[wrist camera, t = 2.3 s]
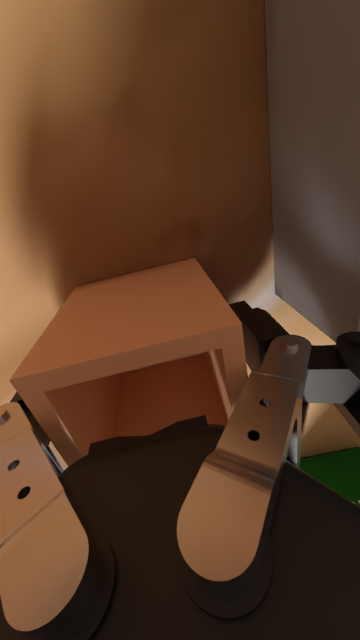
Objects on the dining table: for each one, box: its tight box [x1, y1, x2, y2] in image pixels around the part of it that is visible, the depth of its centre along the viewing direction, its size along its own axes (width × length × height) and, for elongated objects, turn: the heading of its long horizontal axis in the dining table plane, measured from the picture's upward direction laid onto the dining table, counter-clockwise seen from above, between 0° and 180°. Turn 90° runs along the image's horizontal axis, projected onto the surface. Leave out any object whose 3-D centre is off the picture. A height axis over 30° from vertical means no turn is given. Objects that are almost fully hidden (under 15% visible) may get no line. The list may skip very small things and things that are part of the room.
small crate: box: [10, 258, 248, 467], centre depth 11 cm, size 6×6×7 cm
